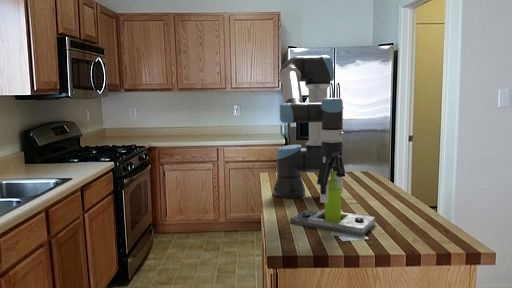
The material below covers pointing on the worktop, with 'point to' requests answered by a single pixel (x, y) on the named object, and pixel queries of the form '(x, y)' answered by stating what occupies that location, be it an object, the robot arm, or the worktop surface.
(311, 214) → the lower link
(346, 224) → the upper link
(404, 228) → the worktop surface
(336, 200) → the soap dispenser
